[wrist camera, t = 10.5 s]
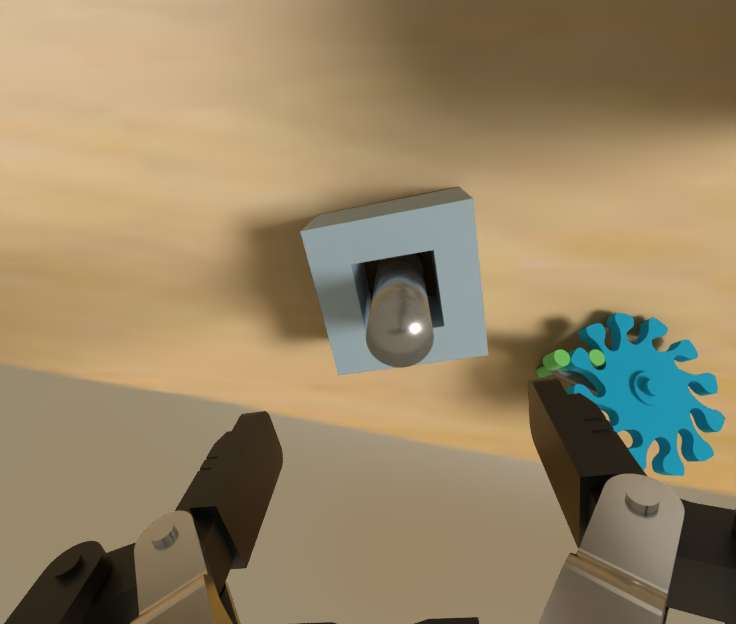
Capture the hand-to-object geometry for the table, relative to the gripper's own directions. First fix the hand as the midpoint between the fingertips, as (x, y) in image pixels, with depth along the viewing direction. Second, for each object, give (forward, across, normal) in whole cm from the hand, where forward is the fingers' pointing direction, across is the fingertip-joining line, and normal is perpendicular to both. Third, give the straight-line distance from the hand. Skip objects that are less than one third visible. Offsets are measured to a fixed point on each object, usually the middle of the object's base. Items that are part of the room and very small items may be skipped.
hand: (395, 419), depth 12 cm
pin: (+16, 0, +1) cm, 16 cm away
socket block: (+16, 0, 0) cm, 16 cm away
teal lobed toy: (+16, -13, +10) cm, 23 cm away
